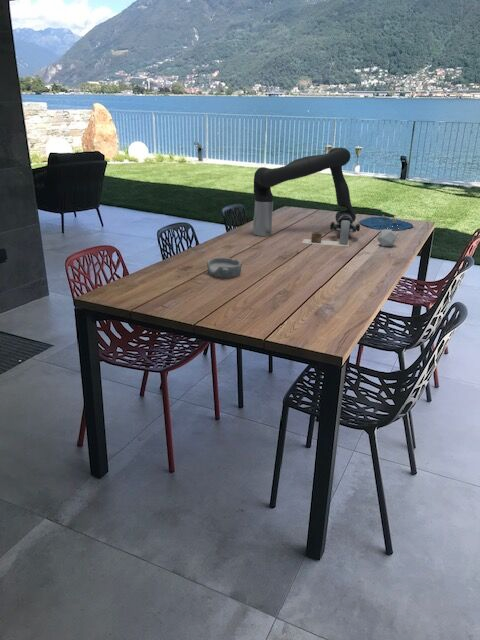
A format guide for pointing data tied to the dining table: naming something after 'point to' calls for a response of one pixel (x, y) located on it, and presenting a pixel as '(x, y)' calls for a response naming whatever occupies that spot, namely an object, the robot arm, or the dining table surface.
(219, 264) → the dish
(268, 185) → the robot arm
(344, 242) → the grey post on base
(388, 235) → the die
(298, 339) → the dining table surface
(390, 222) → the decorative plate
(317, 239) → the walnut block
